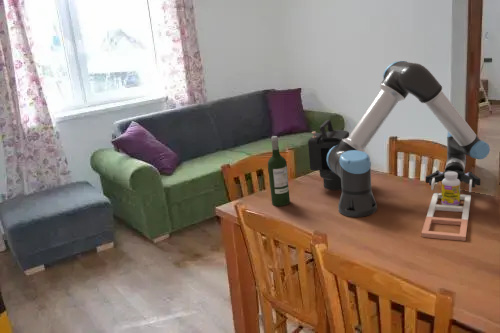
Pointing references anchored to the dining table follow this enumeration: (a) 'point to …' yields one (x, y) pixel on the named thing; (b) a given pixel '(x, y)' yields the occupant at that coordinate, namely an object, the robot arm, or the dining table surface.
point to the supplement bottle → (451, 189)
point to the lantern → (325, 153)
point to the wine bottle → (278, 176)
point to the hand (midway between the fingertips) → (450, 187)
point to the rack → (462, 222)
